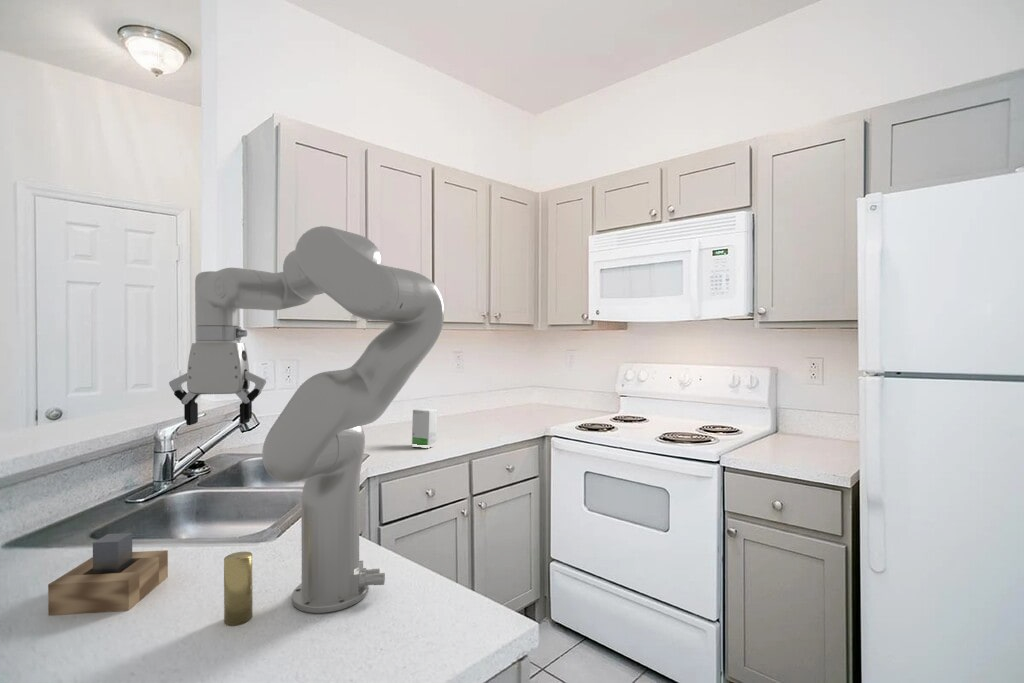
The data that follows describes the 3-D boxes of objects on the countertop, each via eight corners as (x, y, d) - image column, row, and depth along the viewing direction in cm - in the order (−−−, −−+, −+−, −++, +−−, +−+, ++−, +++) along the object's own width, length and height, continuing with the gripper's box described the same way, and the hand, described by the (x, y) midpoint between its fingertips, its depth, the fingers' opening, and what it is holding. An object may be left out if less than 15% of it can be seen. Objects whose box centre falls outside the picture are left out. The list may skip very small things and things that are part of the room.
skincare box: (411, 447, 210) (411, 409, 210) (420, 444, 216) (420, 407, 216) (429, 449, 207) (429, 410, 207) (437, 446, 213) (437, 408, 213)
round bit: (256, 611, 85) (256, 550, 85) (246, 625, 81) (246, 561, 81) (230, 613, 84) (230, 552, 84) (219, 626, 80) (219, 562, 80)
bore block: (167, 576, 97) (167, 550, 97) (128, 610, 85) (128, 580, 85) (98, 580, 95) (97, 553, 95) (48, 615, 83) (48, 584, 83)
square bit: (132, 588, 92) (132, 532, 92) (118, 599, 88) (118, 541, 88) (108, 589, 92) (107, 533, 92) (92, 601, 88) (92, 542, 88)
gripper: (271, 335, 105) (271, 419, 105) (180, 336, 103) (180, 421, 103) (257, 335, 98) (258, 425, 98) (159, 335, 96) (160, 428, 96)
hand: (218, 423), depth 101 cm, fingers open, 9 cm apart
